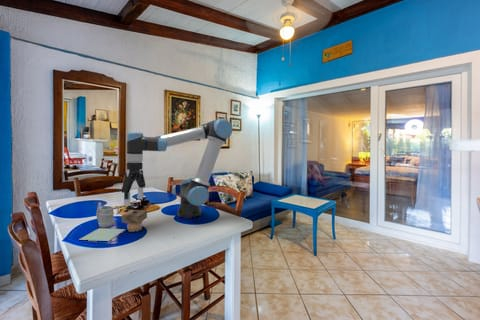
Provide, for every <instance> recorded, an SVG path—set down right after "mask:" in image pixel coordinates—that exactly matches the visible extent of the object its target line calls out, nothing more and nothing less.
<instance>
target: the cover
mask: <svg viewBox="0 0 480 320" xmlns="http://www.w3.org/2000/svg"><path fill="white" fill-rule="evenodd" d="M147 218H148V210H145V209H144V210H143V209H142V210H140V209H130V210H128V211H126V212H124V213H123V214H121V224H123V223H124V224H127V223H140V222H142V223H143V221H144V220H146V219H147Z"/></svg>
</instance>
